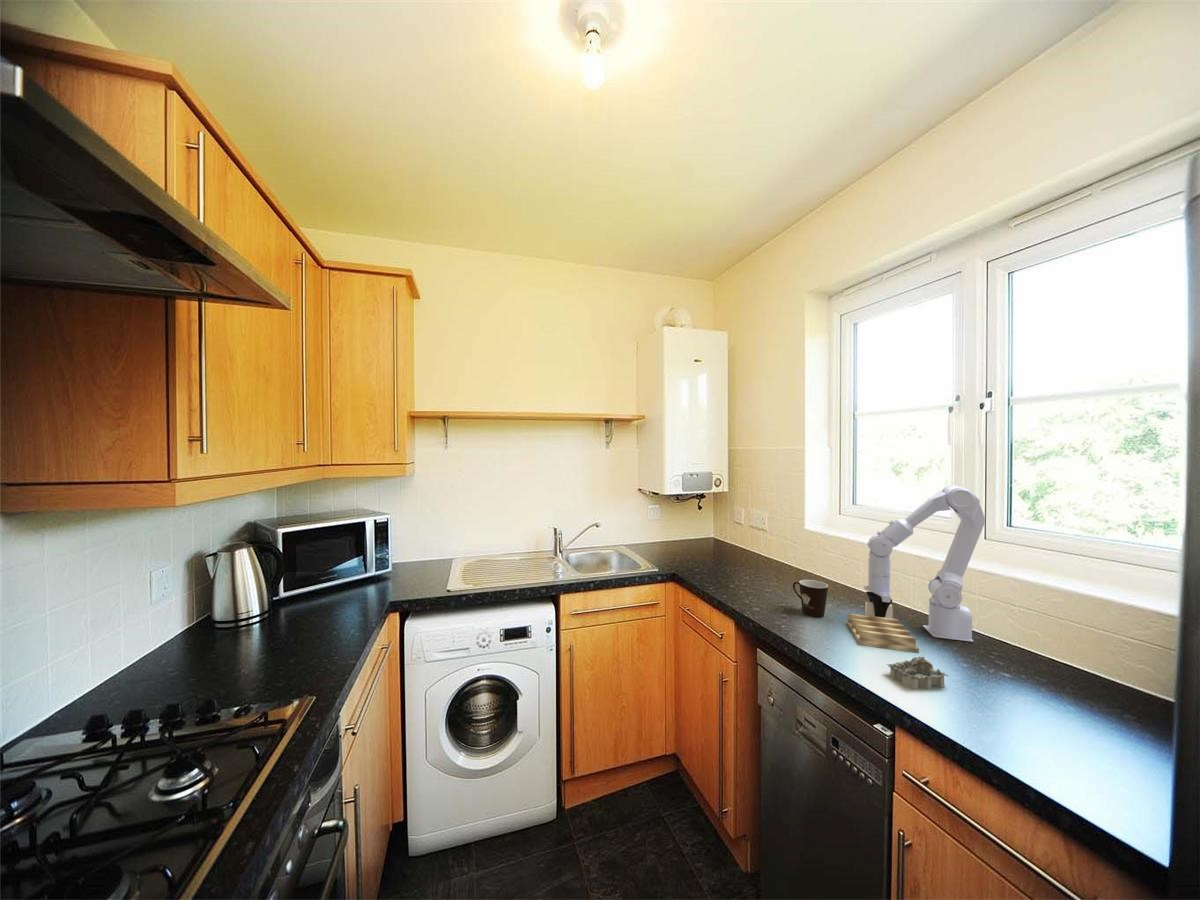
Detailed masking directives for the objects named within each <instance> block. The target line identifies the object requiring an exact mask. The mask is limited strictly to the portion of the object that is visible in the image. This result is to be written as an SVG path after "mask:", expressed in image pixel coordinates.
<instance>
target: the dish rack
mask: <svg viewBox="0 0 1200 900" xmlns="http://www.w3.org/2000/svg"><path fill="white" fill-rule="evenodd" d="M845 624H846V626H847V627H848V628H849V630H850V633H851V634H852V635H853V637H854V638H855V640H856V642H857V643H858V645H861V646H866V647H874V648H880V649H881V648H882V649H888V650H894V651H895V650H896V651H902V652H903V651H904V652H909V653H918V654H919V652H920V649H919V647H918V646H917V638H916V637H915V636H912V635H911V632H910V631H909V630H908V629H905V625H904V624H901V623H900V620H899V619H898V618H893V617H892V618H884V617H875V616H867V615H865V614H857V613H848V620H845Z"/></svg>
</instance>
